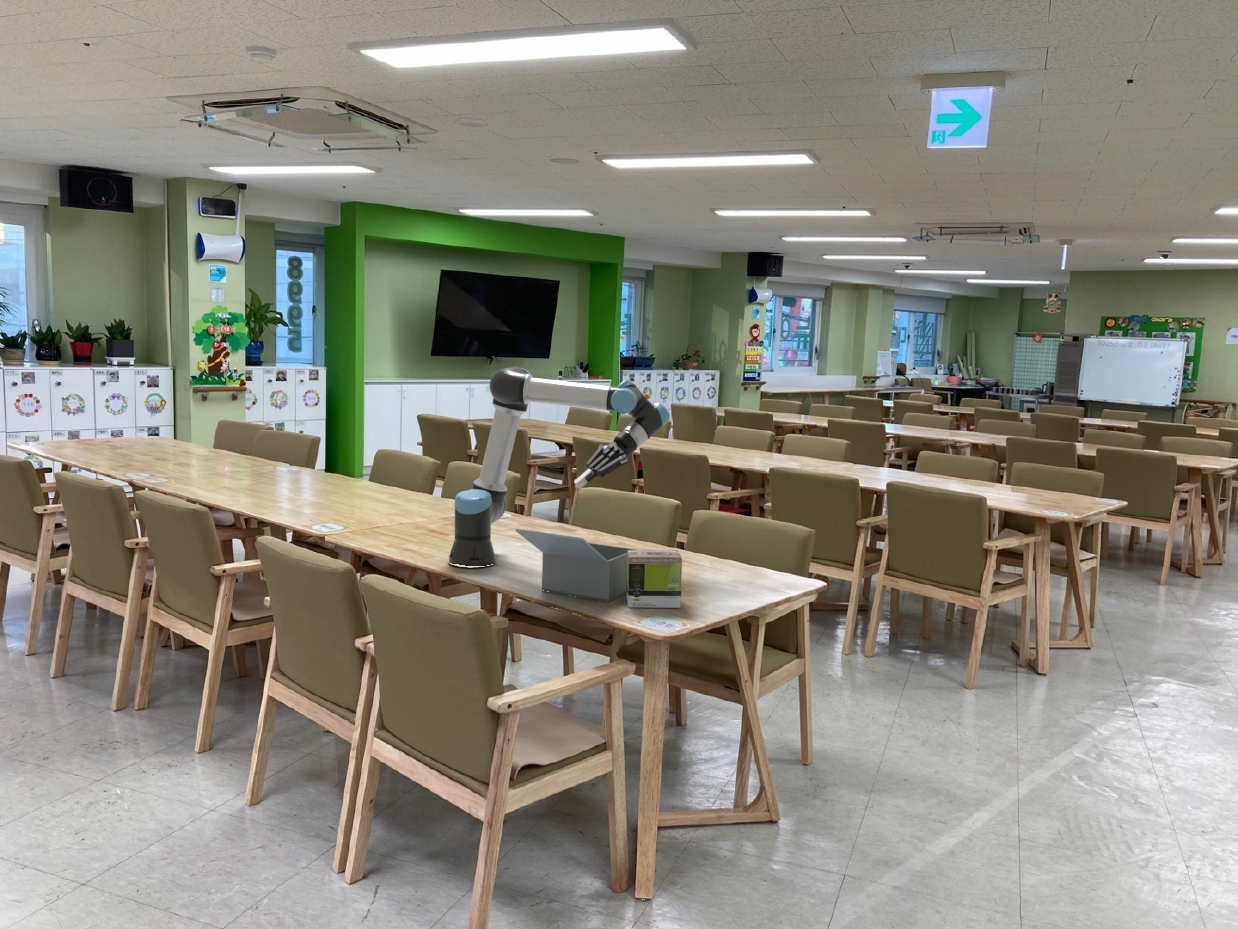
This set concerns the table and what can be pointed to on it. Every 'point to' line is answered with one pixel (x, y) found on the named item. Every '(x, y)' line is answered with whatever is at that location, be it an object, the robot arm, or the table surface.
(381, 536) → the table surface
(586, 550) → the lid
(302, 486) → the table surface
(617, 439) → the robot arm
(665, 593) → the tea box
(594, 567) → the storage box
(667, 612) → the table surface
